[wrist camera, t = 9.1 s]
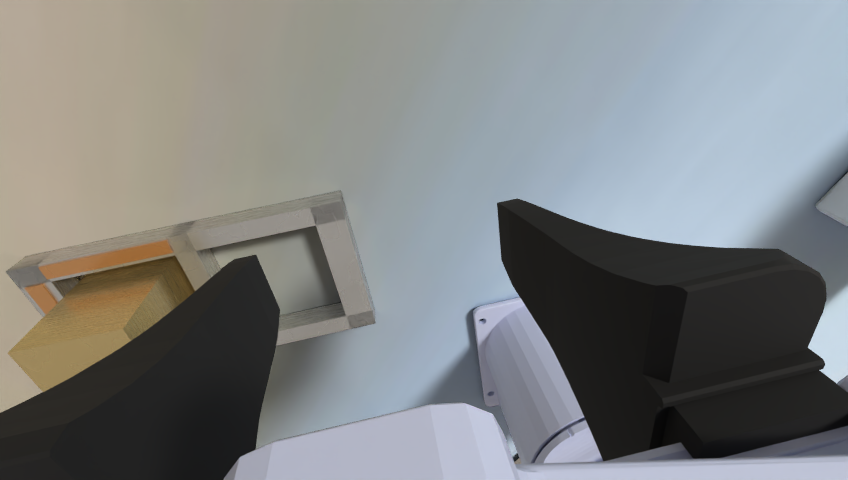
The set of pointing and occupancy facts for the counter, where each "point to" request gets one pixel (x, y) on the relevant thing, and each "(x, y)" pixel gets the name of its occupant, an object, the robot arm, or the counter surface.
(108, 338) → the tan wooden block
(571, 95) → the counter surface
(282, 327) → the grey rectangular frame
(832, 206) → the tea box
